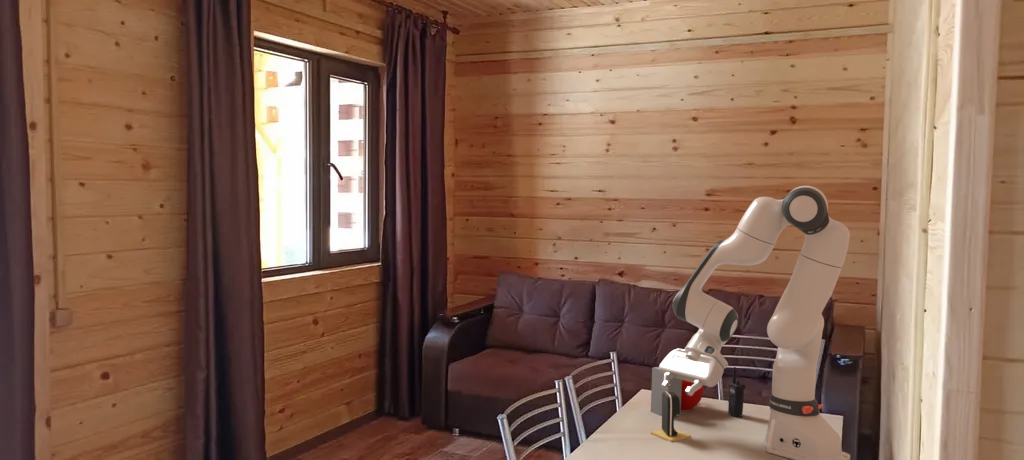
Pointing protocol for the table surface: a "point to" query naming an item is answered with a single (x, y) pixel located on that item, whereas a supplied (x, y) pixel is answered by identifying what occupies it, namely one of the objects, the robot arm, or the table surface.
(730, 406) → the two-way radio
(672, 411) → the battery charger
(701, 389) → the ceramic cup
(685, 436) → the bay mat
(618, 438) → the table surface
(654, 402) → the gray rectangular box
